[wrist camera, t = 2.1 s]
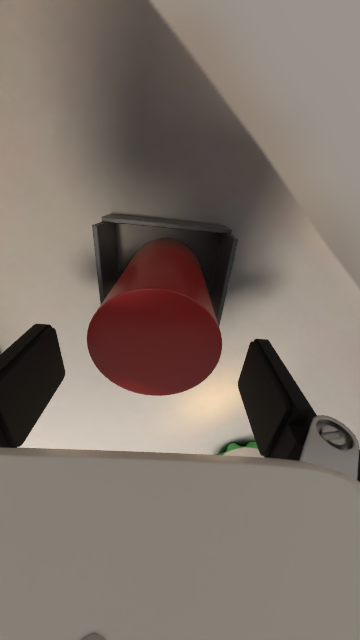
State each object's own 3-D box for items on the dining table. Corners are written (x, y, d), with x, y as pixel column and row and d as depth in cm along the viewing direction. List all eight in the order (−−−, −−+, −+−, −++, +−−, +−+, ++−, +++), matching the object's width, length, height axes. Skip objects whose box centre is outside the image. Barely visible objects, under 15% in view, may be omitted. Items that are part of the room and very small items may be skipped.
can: (129, 234, 18) (76, 281, 8) (205, 241, 18) (235, 294, 9) (131, 303, 21) (94, 392, 12) (195, 308, 22) (210, 398, 12)
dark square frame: (110, 213, 17) (91, 220, 13) (225, 225, 18) (239, 234, 14) (117, 315, 22) (104, 341, 18) (207, 321, 22) (214, 348, 18)
